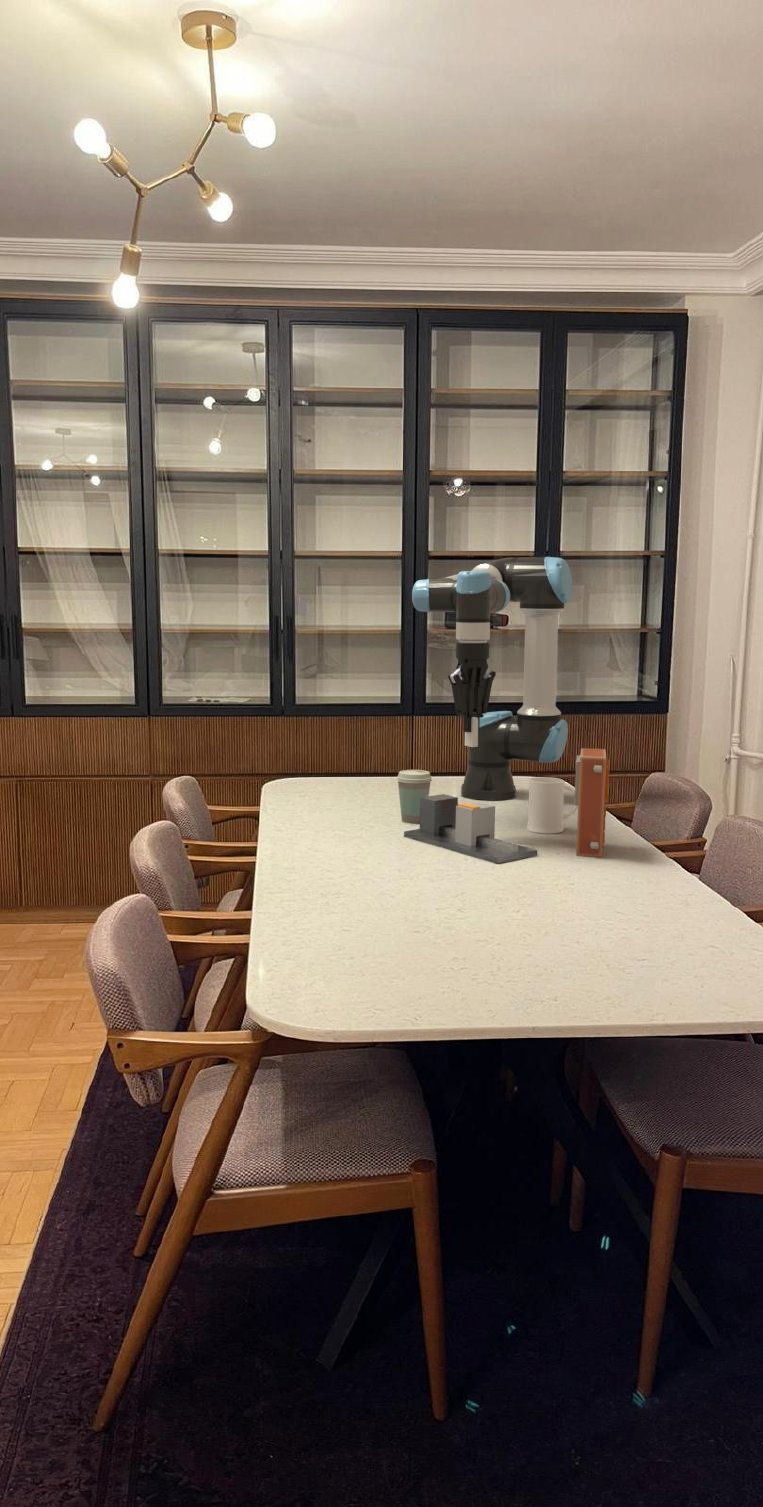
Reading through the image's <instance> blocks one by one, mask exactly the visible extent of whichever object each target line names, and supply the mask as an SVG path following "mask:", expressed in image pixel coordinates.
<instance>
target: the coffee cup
mask: <svg viewBox="0 0 763 1507" xmlns="http://www.w3.org/2000/svg"><path fill="white" fill-rule="evenodd" d="M396 777H397V779H396V781H397V784H398V795H399V804H400V805H399V806H400V816H401V821H402V822H405V823H408V824H420V797H427V796H430V790H431V783H432V781H433V780H432V776H431V772H430V771H428V770H423V769H405V770H400V771H399V772H398V775H397V776H396Z"/></svg>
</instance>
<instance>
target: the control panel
mask: <svg viewBox="0 0 763 1507" xmlns="http://www.w3.org/2000/svg"><path fill="white" fill-rule="evenodd" d="M606 751H607V750H606V749H605V748H603V749H602V748H585V747H584V748H583V747H582V748H581V749H580V755H578V754H577V755H576V757H575V758H576V761H575V782H574V783H575V786H574V791H575V796H574V802H573V805H574V806H575V805H577V821H576V822H577V827H576V847H575V848H576V849H575V855H576V856H580V857H596V858H602V856H603V850H604V846H605V845H604V844H605V843H606V836H605V835H606V834H605V832H606V816H607V805H605V804H607V803H608V801H609V799H608V798H609V779H610V778H609V777H610V759H609V758H607V752H606Z"/></svg>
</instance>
